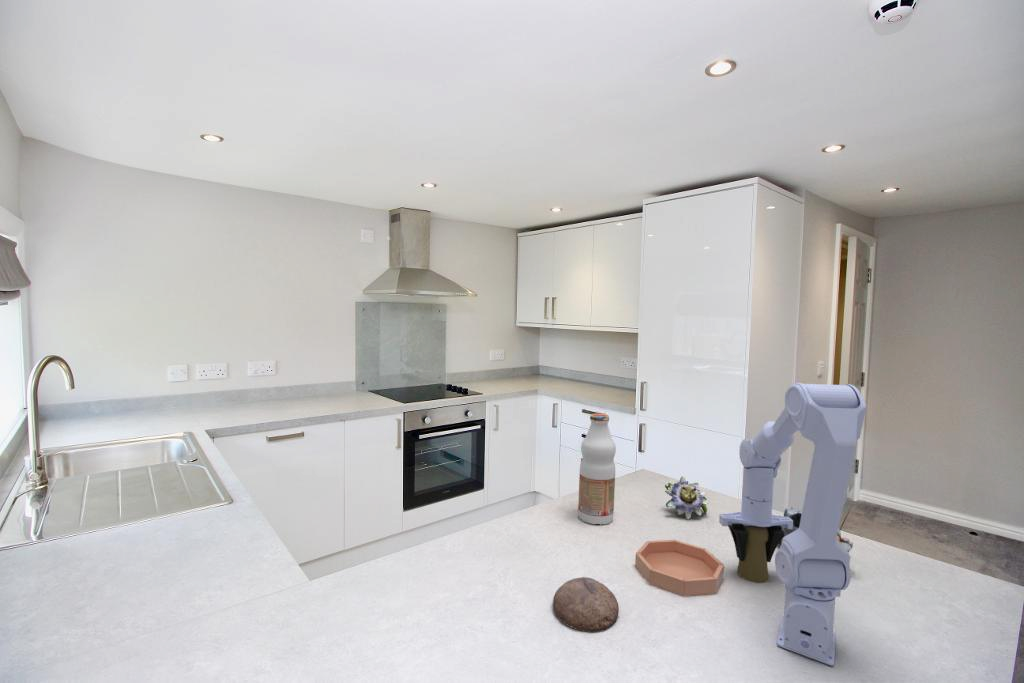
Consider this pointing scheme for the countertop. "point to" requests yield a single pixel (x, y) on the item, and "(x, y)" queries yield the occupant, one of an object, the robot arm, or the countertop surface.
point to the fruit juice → (597, 473)
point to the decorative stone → (586, 604)
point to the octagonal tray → (679, 567)
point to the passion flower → (686, 498)
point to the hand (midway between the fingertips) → (753, 559)
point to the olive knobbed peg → (755, 555)
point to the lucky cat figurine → (796, 522)
